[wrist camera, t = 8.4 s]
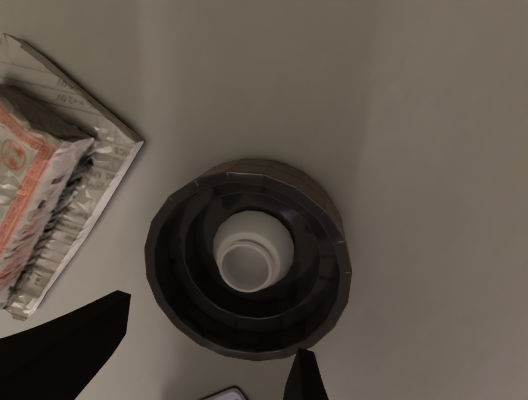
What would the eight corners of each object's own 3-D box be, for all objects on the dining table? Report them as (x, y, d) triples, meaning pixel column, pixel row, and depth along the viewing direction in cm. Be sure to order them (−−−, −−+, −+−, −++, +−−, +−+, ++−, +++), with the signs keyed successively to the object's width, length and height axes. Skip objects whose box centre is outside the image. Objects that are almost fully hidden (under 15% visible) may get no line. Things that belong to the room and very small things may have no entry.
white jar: (304, 271, 21) (279, 199, 20) (302, 297, 18) (272, 215, 17) (233, 288, 22) (205, 221, 21) (220, 315, 19) (188, 239, 18)
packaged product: (-20, 358, 22) (-146, 265, 21) (39, 313, 27) (-64, 236, 26) (103, 151, 16) (-66, 14, 16) (151, 139, 21) (22, 33, 20)
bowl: (378, 273, 21) (391, 313, 17) (236, 338, 24) (220, 385, 20) (282, 120, 19) (272, 126, 15) (144, 213, 22) (106, 238, 18)
